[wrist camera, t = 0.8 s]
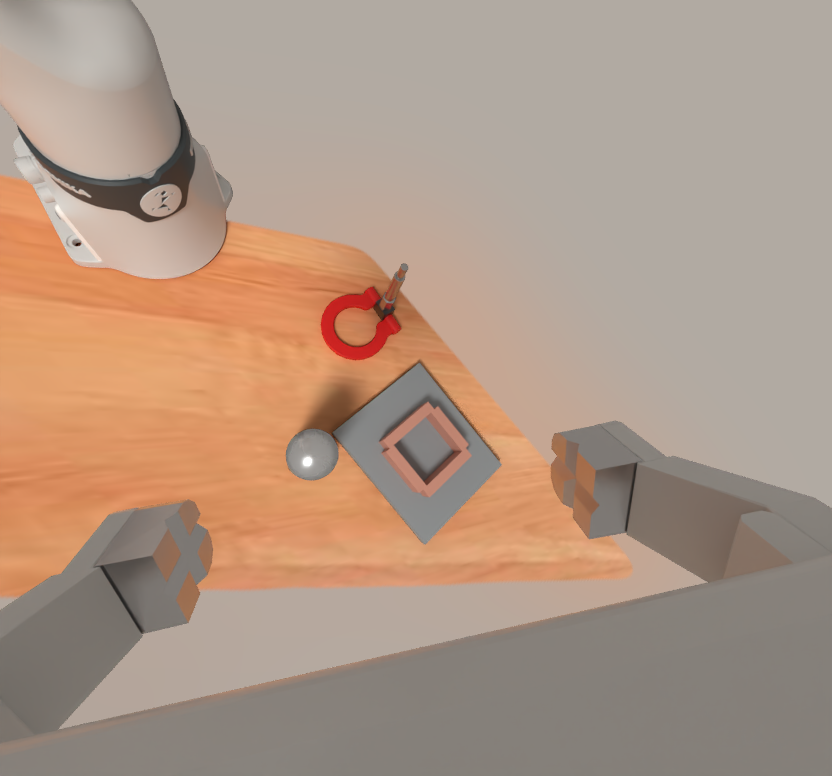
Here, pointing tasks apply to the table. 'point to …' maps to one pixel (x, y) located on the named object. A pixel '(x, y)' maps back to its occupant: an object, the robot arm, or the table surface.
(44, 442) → the table surface
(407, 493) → the keeper
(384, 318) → the tow hook
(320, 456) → the brushed steel cylinder
